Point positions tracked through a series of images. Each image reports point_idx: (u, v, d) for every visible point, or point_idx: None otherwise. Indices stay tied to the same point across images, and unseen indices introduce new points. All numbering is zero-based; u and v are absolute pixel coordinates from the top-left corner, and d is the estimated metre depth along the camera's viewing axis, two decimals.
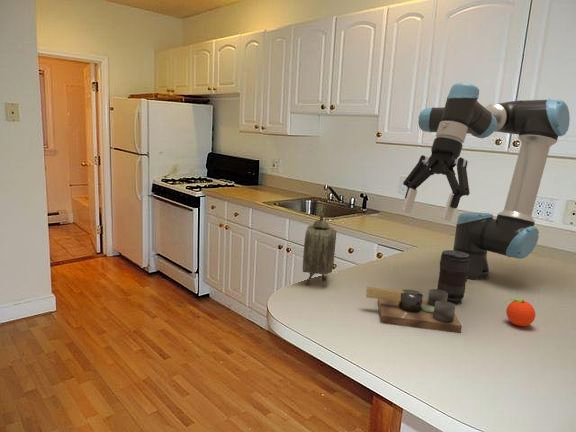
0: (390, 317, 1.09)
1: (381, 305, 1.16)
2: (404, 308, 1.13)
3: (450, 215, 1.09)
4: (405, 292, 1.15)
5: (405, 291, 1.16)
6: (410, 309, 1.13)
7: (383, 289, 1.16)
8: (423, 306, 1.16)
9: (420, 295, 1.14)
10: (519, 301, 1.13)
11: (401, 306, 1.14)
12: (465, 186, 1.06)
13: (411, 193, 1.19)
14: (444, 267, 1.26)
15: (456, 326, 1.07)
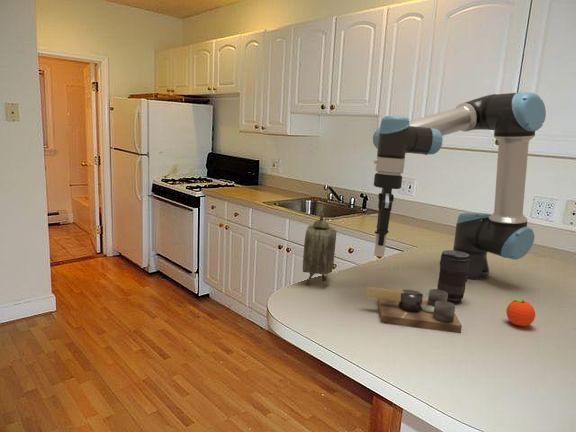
0: (390, 317, 1.09)
1: (381, 305, 1.16)
2: (404, 308, 1.13)
3: (381, 251, 1.20)
4: (405, 292, 1.15)
5: (405, 291, 1.16)
6: (410, 309, 1.13)
7: (383, 289, 1.16)
8: (423, 306, 1.16)
9: (420, 295, 1.14)
10: (519, 301, 1.13)
11: (401, 306, 1.14)
12: (382, 228, 1.16)
13: None
14: (444, 267, 1.26)
15: (456, 326, 1.07)
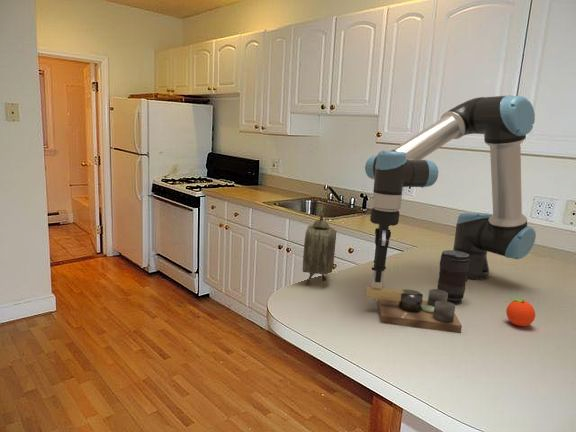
0: (390, 317, 1.09)
1: (381, 305, 1.16)
2: (404, 308, 1.13)
3: None
4: (405, 292, 1.15)
5: (405, 291, 1.16)
6: (410, 309, 1.13)
7: (383, 289, 1.16)
8: (423, 306, 1.16)
9: (420, 295, 1.14)
10: (519, 301, 1.13)
11: (401, 306, 1.14)
12: (378, 265, 1.12)
13: None
14: (444, 267, 1.26)
15: (456, 326, 1.07)
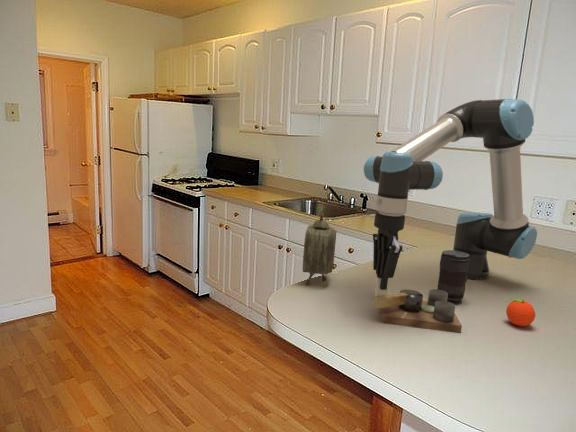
0: (390, 317, 1.09)
1: None
2: (411, 310, 1.13)
3: None
4: (406, 294, 1.14)
5: (404, 292, 1.15)
6: (417, 309, 1.13)
7: (390, 295, 1.11)
8: (423, 306, 1.16)
9: (420, 293, 1.15)
10: (519, 301, 1.13)
11: (407, 308, 1.13)
12: (388, 272, 1.07)
13: None
14: (444, 267, 1.26)
15: (456, 326, 1.07)
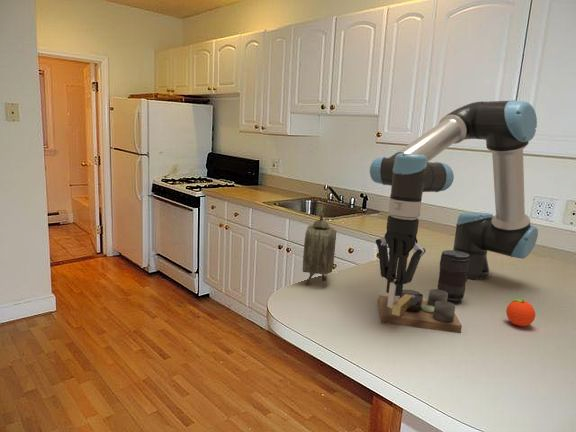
0: (390, 317, 1.09)
1: (381, 305, 1.16)
2: (416, 310, 1.13)
3: (396, 301, 1.08)
4: (409, 295, 1.14)
5: (405, 293, 1.14)
6: (420, 308, 1.14)
7: (402, 300, 1.09)
8: (423, 306, 1.16)
9: (416, 291, 1.16)
10: (519, 301, 1.13)
11: (413, 309, 1.13)
12: (409, 278, 1.04)
13: None
14: (444, 267, 1.26)
15: (456, 326, 1.07)
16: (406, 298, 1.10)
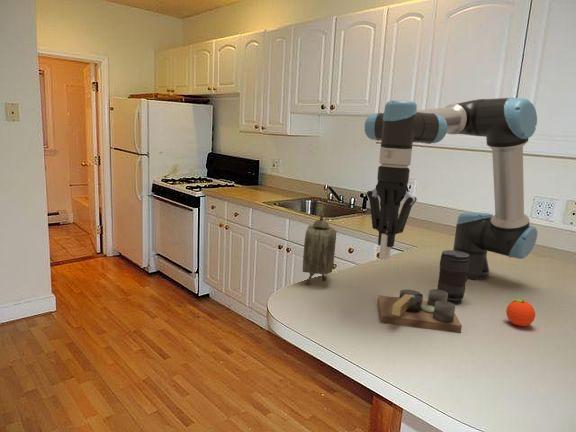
0: (390, 317, 1.09)
1: (381, 305, 1.16)
2: (416, 310, 1.13)
3: (388, 253, 1.08)
4: (409, 295, 1.14)
5: (405, 293, 1.14)
6: (420, 308, 1.14)
7: (402, 300, 1.09)
8: (423, 306, 1.16)
9: (416, 291, 1.16)
10: (519, 301, 1.13)
11: (413, 309, 1.13)
12: (401, 227, 1.03)
13: None
14: (444, 267, 1.26)
15: (456, 326, 1.07)
16: (406, 298, 1.10)
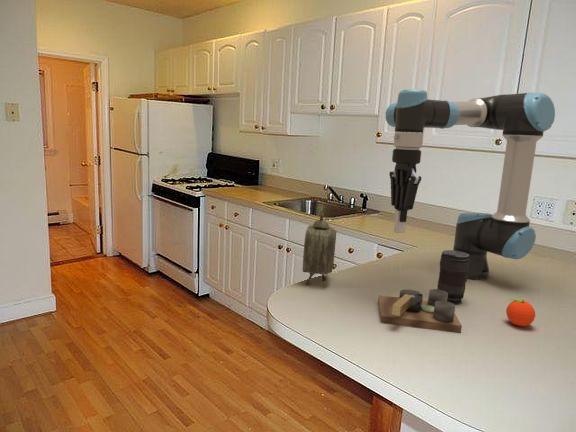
0: (390, 317, 1.09)
1: (381, 305, 1.16)
2: (416, 310, 1.13)
3: (402, 228, 1.19)
4: (409, 295, 1.14)
5: (405, 293, 1.14)
6: (420, 308, 1.14)
7: (402, 300, 1.09)
8: (423, 306, 1.16)
9: (416, 291, 1.16)
10: (519, 301, 1.13)
11: (413, 309, 1.13)
12: (408, 204, 1.14)
13: None
14: (444, 267, 1.26)
15: (456, 326, 1.07)
16: (406, 298, 1.10)
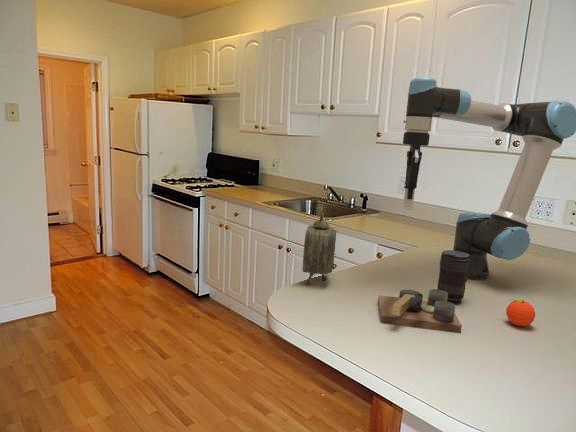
0: (390, 317, 1.09)
1: (381, 305, 1.16)
2: (416, 310, 1.13)
3: (410, 205, 1.30)
4: (409, 295, 1.14)
5: (405, 293, 1.14)
6: (420, 308, 1.14)
7: (402, 300, 1.09)
8: (423, 306, 1.16)
9: (416, 291, 1.16)
10: (519, 301, 1.13)
11: (413, 309, 1.13)
12: (411, 181, 1.25)
13: None
14: (444, 267, 1.26)
15: (456, 326, 1.07)
16: (406, 298, 1.10)
